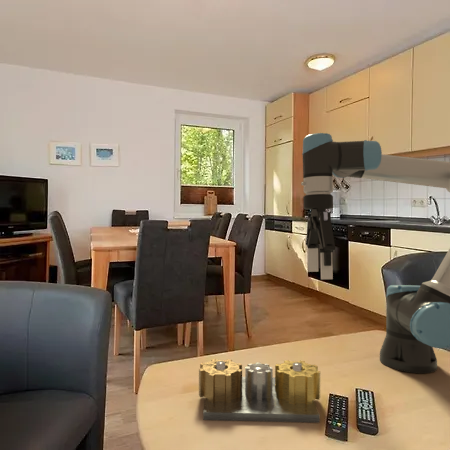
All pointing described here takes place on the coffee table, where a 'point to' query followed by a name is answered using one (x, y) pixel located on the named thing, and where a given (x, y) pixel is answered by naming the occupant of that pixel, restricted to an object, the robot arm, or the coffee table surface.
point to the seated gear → (220, 381)
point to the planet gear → (297, 382)
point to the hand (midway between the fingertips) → (319, 275)
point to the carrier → (260, 400)
